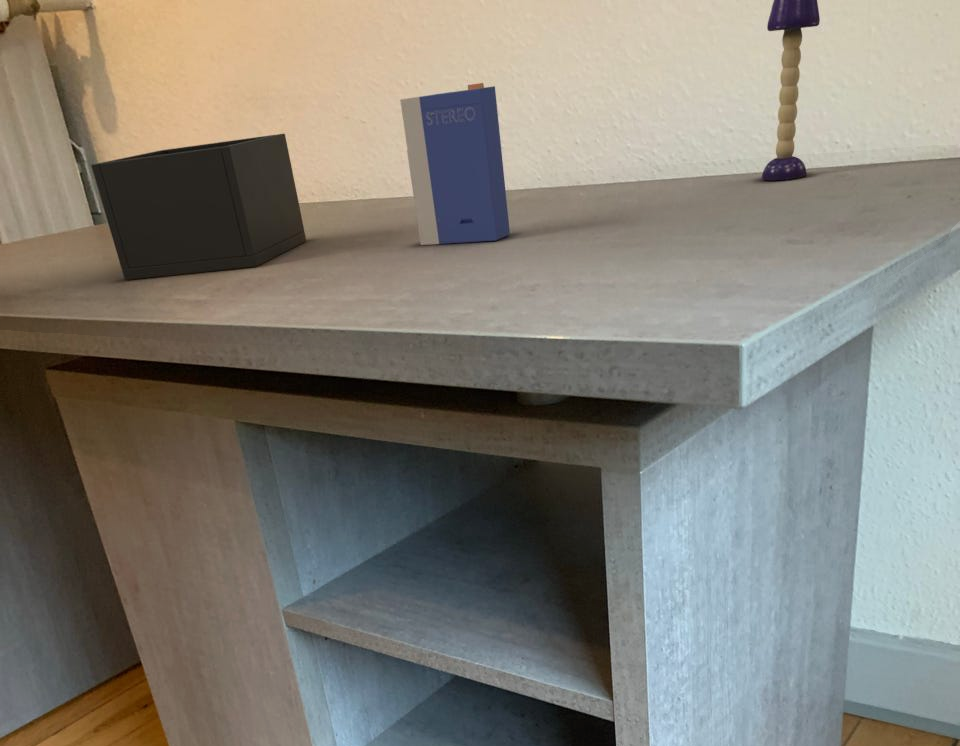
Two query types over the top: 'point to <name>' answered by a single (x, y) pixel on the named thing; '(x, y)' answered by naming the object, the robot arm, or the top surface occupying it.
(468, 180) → the walkman
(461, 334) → the top surface
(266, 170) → the black storage bin
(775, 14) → the toy lamp
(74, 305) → the top surface
